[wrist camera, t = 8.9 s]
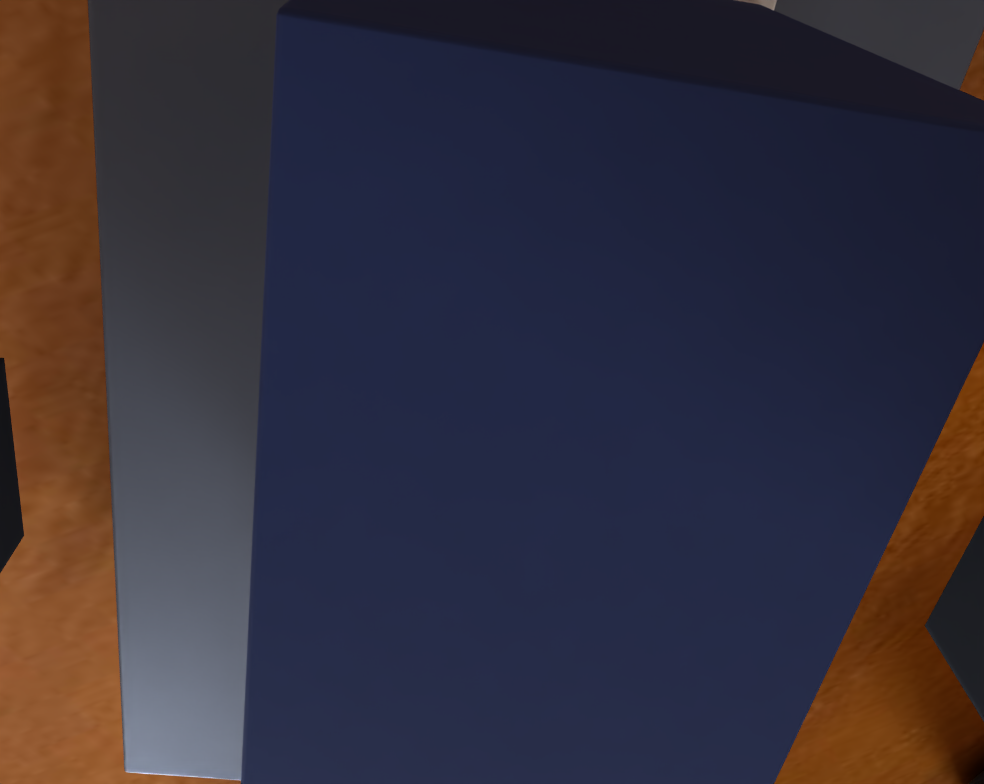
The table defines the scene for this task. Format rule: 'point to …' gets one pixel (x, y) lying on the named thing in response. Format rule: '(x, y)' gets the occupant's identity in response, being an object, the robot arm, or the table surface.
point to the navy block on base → (588, 381)
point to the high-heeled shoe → (978, 779)
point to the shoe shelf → (242, 329)
